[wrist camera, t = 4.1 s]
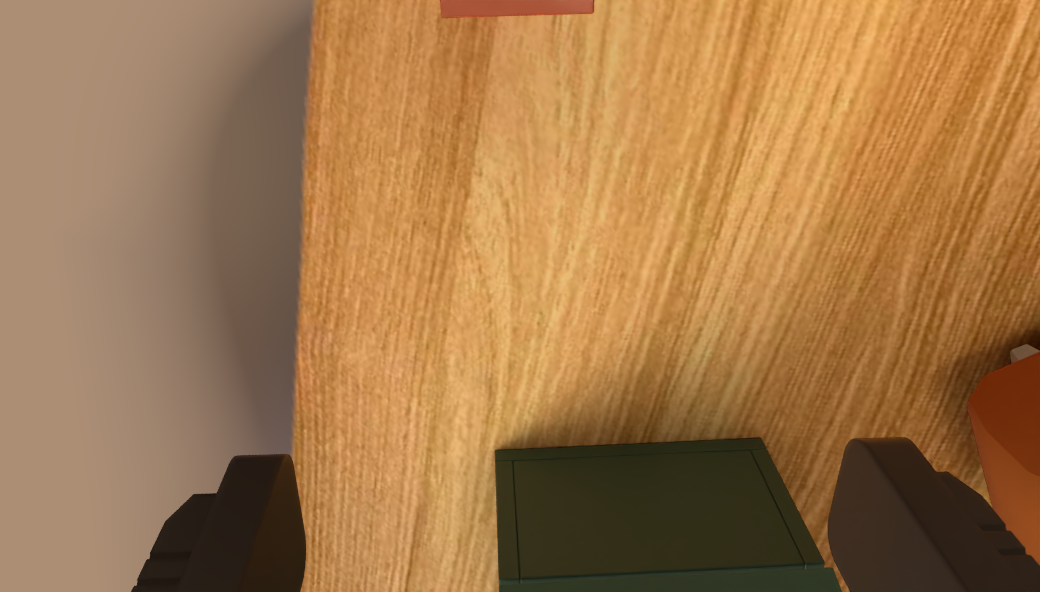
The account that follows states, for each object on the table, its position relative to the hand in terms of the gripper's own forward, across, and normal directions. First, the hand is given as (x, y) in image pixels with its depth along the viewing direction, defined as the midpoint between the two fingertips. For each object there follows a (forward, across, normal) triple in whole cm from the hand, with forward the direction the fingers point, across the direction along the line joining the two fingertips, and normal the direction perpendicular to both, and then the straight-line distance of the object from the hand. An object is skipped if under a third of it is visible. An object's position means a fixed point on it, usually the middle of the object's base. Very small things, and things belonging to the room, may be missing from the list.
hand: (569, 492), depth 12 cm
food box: (+21, -6, +23) cm, 32 cm away
